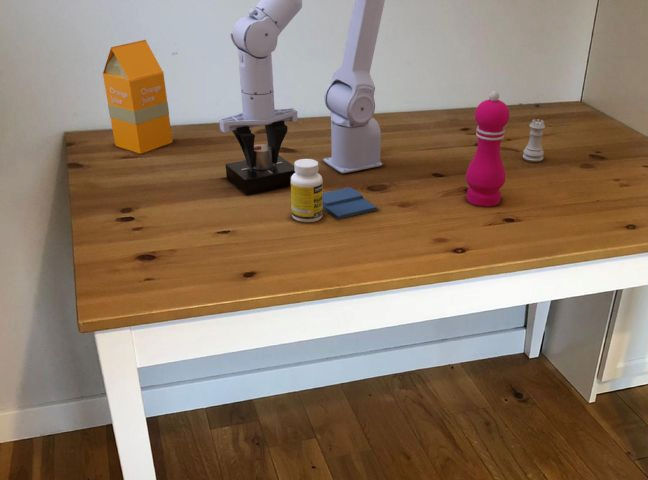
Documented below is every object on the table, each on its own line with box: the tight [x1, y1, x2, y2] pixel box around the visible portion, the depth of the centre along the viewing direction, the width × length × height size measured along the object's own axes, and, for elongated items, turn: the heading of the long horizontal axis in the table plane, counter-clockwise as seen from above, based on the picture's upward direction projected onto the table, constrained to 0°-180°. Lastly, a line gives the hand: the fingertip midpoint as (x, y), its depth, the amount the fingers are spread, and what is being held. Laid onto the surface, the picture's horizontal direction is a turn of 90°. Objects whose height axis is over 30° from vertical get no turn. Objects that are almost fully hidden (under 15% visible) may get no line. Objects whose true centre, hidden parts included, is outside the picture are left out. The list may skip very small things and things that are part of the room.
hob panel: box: [225, 154, 296, 196], centre depth 145 cm, size 11×9×3 cm
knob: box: [253, 143, 273, 170], centre depth 143 cm, size 4×4×4 cm
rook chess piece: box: [522, 119, 546, 163], centre depth 159 cm, size 4×4×8 cm
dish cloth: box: [323, 186, 377, 220], centre depth 138 cm, size 8×9×1 cm
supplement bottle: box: [290, 158, 324, 223], centre depth 131 cm, size 5×5×10 cm
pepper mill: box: [465, 90, 510, 207], centre depth 137 cm, size 7×7×20 cm
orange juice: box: [102, 39, 173, 155], centre depth 154 cm, size 8×9×20 cm
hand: (262, 163), depth 144 cm, fingers closed on knob, 4 cm apart
